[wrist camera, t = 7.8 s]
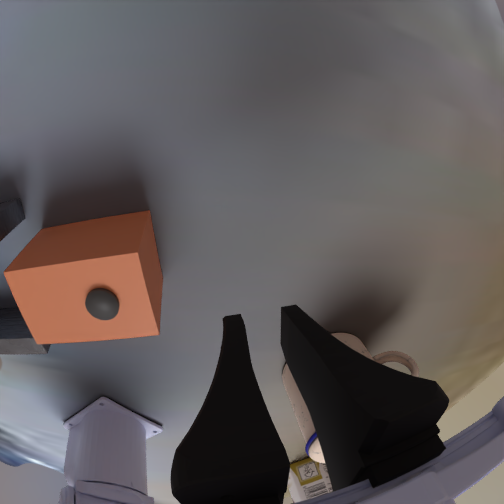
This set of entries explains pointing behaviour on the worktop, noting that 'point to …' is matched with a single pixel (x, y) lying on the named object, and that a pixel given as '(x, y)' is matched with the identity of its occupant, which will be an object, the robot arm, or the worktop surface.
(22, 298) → the block
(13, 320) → the coupler channel
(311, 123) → the worktop surface
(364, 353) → the teacup with lid
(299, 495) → the juice carton
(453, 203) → the worktop surface
